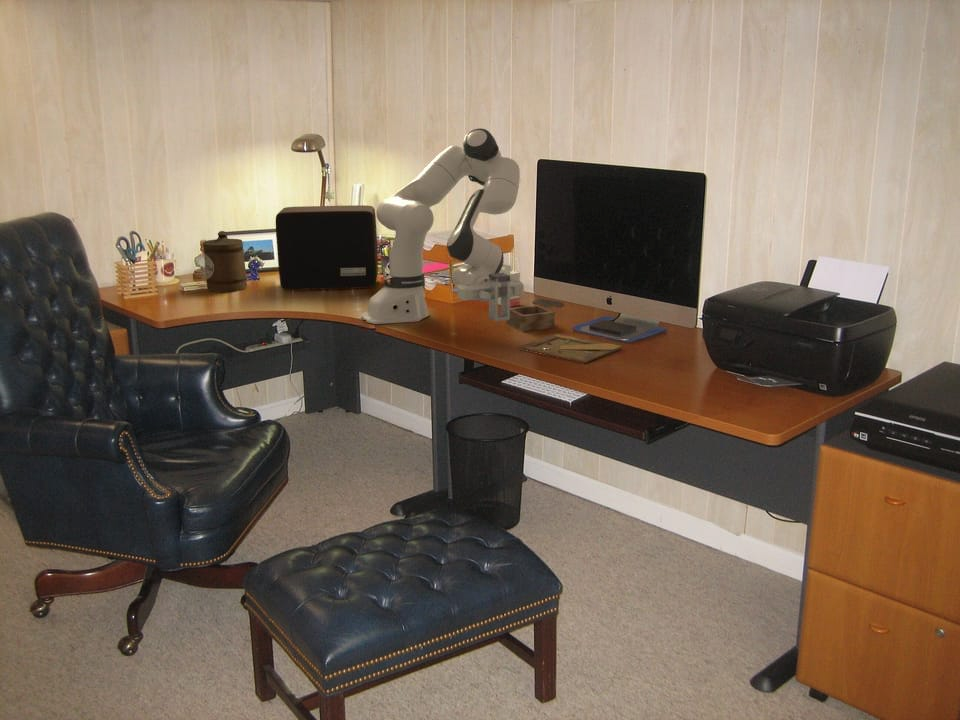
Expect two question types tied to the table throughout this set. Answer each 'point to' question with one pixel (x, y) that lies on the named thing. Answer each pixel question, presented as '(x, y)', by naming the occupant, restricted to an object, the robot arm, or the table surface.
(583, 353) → the picture frame
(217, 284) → the wooden container
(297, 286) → the radio
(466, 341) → the table surface
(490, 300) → the grey lantern
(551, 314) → the box
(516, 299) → the ink cartridge box
